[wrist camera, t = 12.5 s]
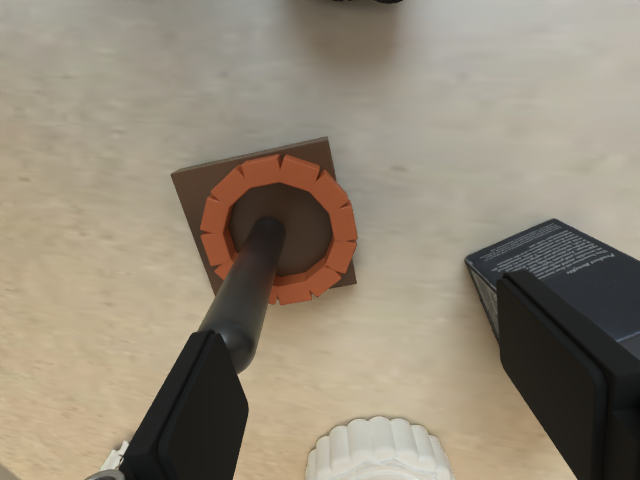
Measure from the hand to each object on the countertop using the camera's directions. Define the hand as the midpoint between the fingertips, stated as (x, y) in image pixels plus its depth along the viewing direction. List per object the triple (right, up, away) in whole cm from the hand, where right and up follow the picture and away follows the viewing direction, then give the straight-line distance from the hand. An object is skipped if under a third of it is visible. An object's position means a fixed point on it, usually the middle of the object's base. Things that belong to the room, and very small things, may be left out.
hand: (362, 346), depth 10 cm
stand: (-4, +4, +13) cm, 14 cm away
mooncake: (+4, -16, +21) cm, 27 cm away
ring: (-4, +4, +11) cm, 12 cm away
